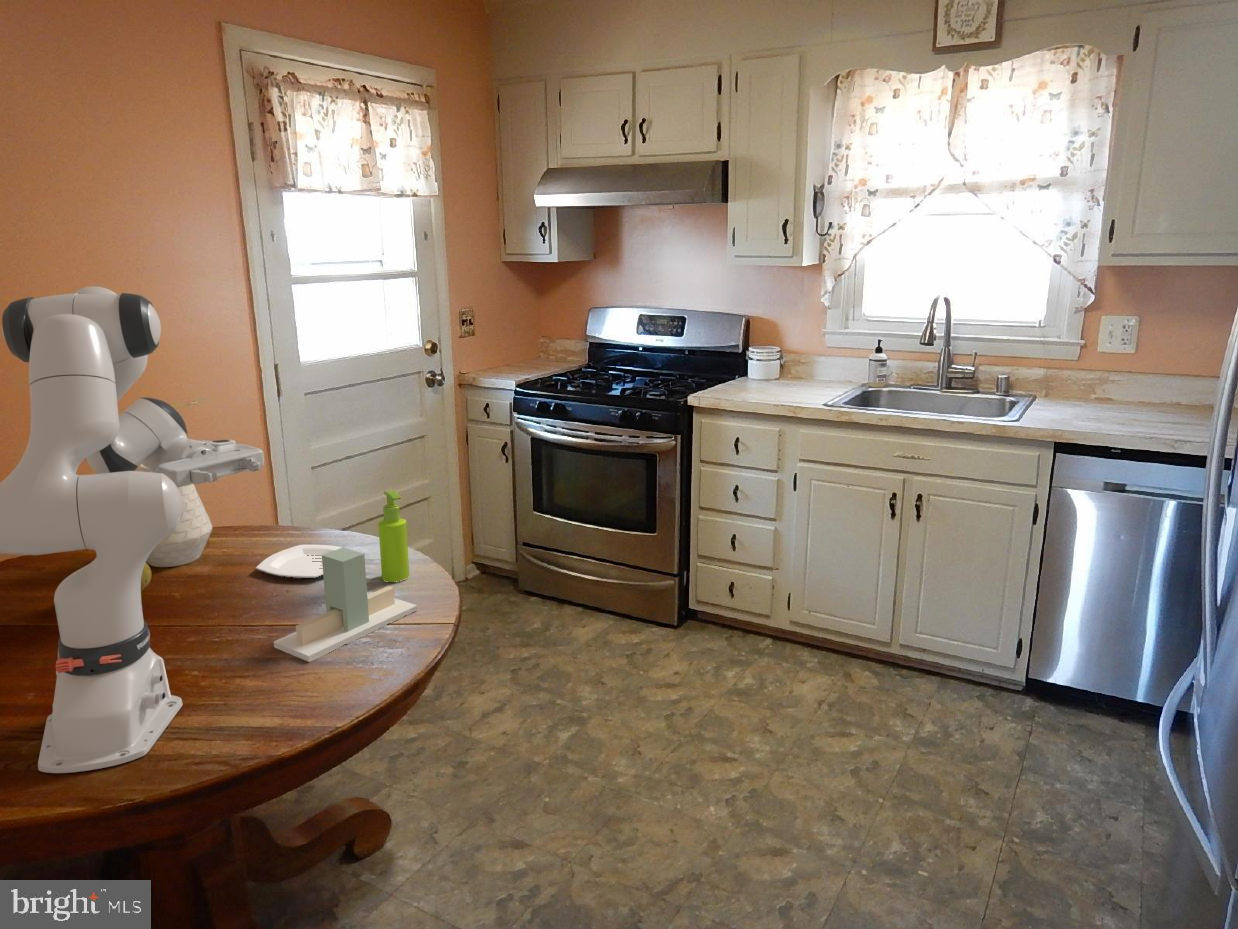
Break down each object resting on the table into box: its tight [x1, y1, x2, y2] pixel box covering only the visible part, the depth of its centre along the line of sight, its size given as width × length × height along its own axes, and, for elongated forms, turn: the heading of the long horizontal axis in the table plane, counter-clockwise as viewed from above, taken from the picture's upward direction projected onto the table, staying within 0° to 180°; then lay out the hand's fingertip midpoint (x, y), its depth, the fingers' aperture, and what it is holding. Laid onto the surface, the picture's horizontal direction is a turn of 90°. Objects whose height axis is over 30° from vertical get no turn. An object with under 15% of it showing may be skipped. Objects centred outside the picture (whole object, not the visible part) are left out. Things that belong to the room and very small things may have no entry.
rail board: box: [273, 585, 418, 663], centre depth 164 cm, size 26×10×5 cm, turn 147°
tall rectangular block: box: [322, 547, 369, 631], centre depth 162 cm, size 5×6×14 cm
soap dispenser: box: [377, 489, 410, 583], centre depth 186 cm, size 6×7×20 cm
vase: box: [138, 464, 213, 568], centre depth 196 cm, size 17×17×23 cm
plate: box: [255, 544, 343, 579], centre depth 195 cm, size 19×19×2 cm
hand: (236, 472), depth 168 cm, fingers open, 8 cm apart
